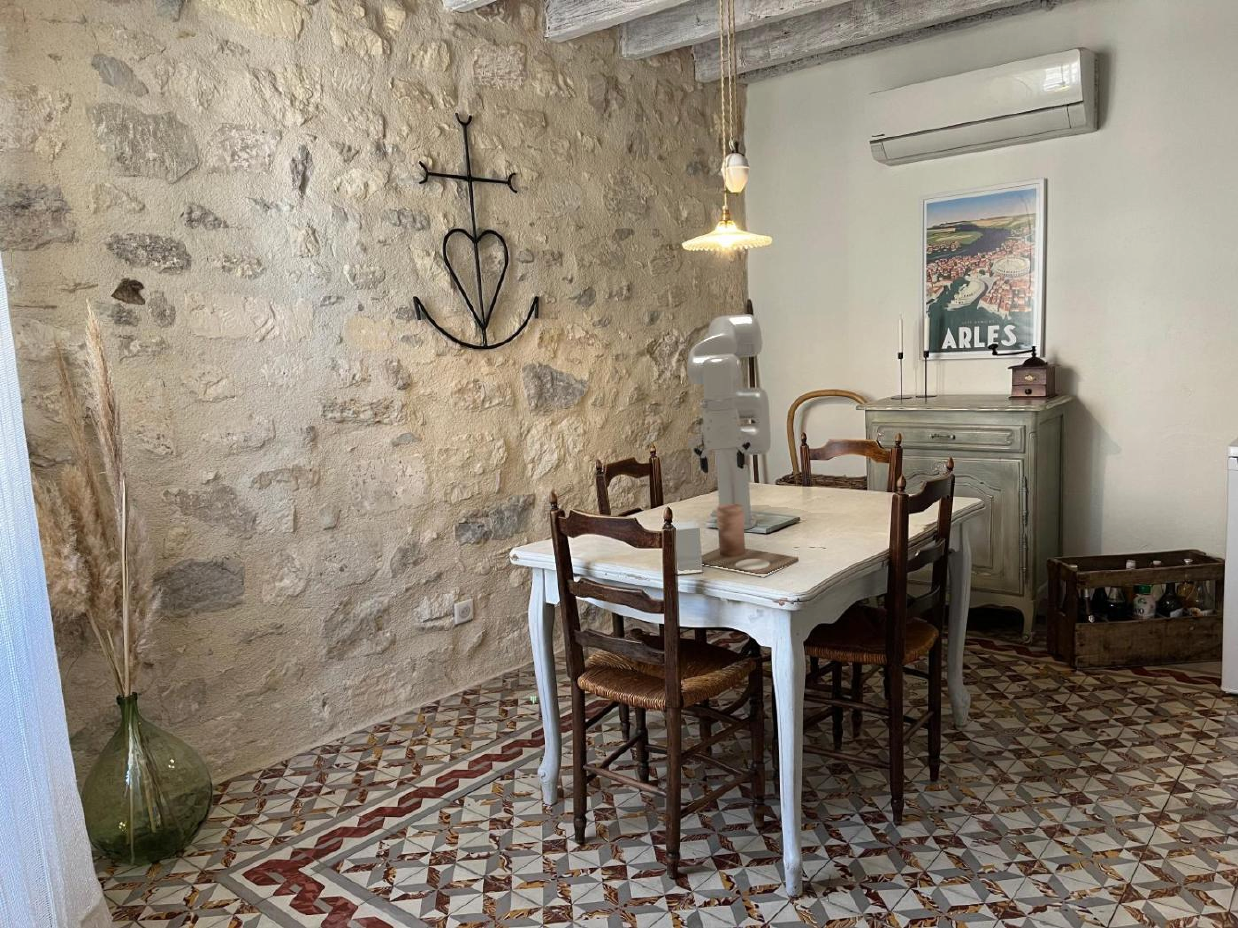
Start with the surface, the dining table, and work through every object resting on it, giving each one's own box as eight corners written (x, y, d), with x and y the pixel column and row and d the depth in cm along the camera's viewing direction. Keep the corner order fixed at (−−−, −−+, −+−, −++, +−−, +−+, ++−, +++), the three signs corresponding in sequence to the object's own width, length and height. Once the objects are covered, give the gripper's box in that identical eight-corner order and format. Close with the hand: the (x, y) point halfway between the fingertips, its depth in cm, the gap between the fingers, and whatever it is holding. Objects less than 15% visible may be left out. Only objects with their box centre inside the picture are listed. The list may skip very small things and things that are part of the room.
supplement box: (699, 565, 254) (696, 520, 251) (703, 573, 246) (700, 527, 244) (672, 567, 254) (669, 522, 251) (675, 576, 246) (671, 529, 244)
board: (690, 563, 256) (687, 513, 253) (726, 548, 267) (723, 500, 264) (763, 577, 239) (761, 524, 237) (798, 560, 250) (796, 510, 248)
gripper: (691, 410, 238) (695, 476, 241) (755, 403, 242) (759, 468, 245) (683, 407, 246) (687, 471, 249) (746, 400, 249) (749, 464, 252)
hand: (723, 469), depth 247 cm, fingers open, 9 cm apart
